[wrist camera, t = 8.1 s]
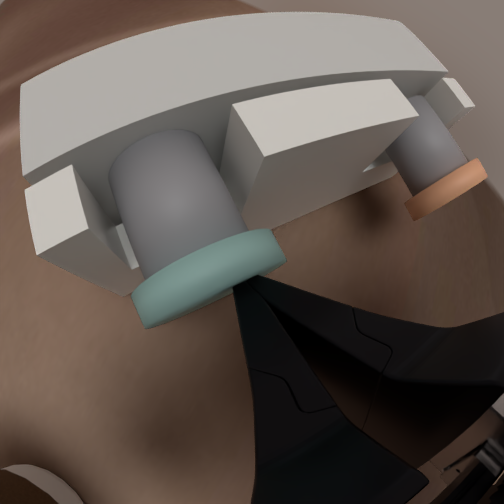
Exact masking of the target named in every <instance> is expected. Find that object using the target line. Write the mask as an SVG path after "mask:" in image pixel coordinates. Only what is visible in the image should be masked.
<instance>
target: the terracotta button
mask: <svg viewBox="0 0 504 504" xmlns="http://www.w3.org/2000/svg"><path fill="white" fill-rule="evenodd" d="M407 100H408V101H409V102H410V104H411V105H412V106H413V108H414V109H415V110H416V112H417V113H418V114H419V116H418V117H417V118H416V119H415V120H414V121H413V122H412V123H411V124H410V125H409V126H408V127H407V128H406V129H405V130H404V131H403V132H402V133H401V134H400V135H399V136H398V137H397V138H396V139H395V140H394V141H393V142H392V143H391V144H390V145H389V146H388V147H387V148H386V149H385V151H386V153H387V154H388V156H389V157H390V159H391V160H392V162H393V164H394V165H395V167H396V168H397V170H398V172H399V173H400V175H401V177H402V178H403V180H404V182H405V183H406V185H407V187H408V189H409V190H410V192H411V194H412V196H413V197H412V198H411V199H409V200H408V201H407V202H405V203H404V204H405V206H406V208H407V210H408V211H409V213H410V215H411V217H412V219H413V221H416V220H418V219H420V218H422V217H423V216H425V215H427V214H429V213H431V212H432V211H434V210H436V209H438V208H439V207H441V206H443V205H444V204H446V203H448V202H449V201H451V200H453V199H454V198H456V197H458V196H459V195H461V194H463V193H464V192H466V191H467V190H469V189H470V188H472V187H473V186H475V185H477V184H478V183H480V182H481V181H482V180H484V179H485V178H487V177H488V176H487V174H486V172H485V170H484V168H483V166H482V165H481V163H480V161H479V159H478V158H476V159H474V160H472V161H470V162H468V161H467V160H466V158H465V156H464V155H463V153H462V151H461V150H460V148H459V147H458V145H457V143H456V142H455V140H454V139H453V137H452V136H451V134H450V132H449V131H448V129H447V128H446V127H445V125H444V124H443V122H442V121H441V119H440V118H439V117H438V115H437V114H436V112H435V111H434V110H433V108H432V107H431V106H430V104H429V103H428V102H427V100H426V99H425V98H424V97H423V96H420V95H419V96H413V97H410V98H408V99H407Z"/></svg>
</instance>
